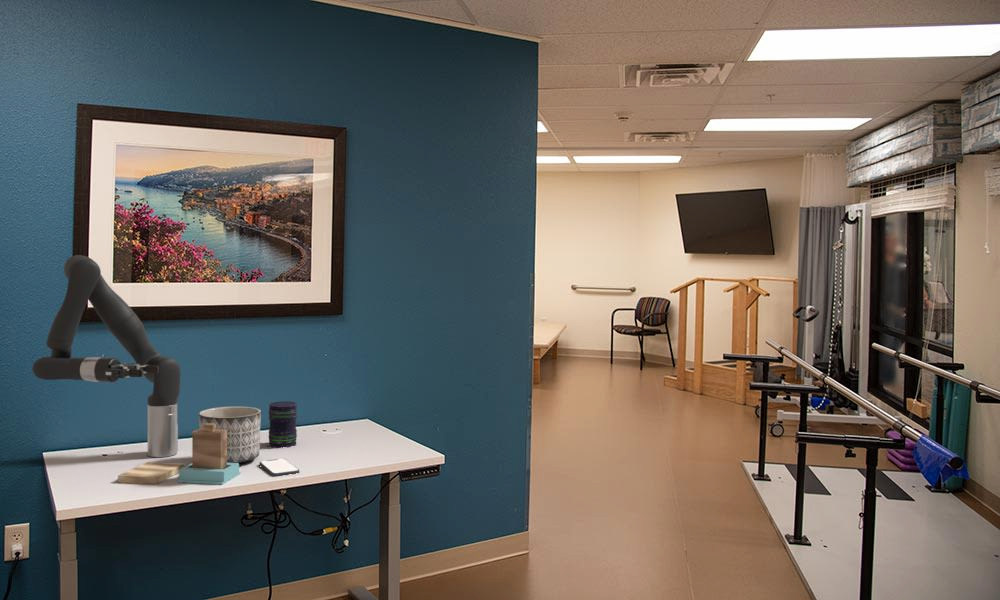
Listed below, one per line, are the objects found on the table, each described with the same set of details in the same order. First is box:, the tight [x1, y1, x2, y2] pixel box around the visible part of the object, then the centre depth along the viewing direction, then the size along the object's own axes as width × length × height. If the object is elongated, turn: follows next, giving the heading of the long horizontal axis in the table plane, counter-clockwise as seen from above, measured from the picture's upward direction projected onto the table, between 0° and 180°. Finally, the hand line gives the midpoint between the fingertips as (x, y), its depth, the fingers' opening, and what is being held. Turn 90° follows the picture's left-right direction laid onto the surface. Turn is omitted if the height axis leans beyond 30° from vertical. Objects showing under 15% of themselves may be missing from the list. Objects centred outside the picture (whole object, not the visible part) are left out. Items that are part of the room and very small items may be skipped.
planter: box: [198, 406, 262, 464], centre depth 254 cm, size 19×19×16 cm
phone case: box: [259, 458, 300, 477], centre depth 246 cm, size 9×2×16 cm
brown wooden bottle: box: [191, 423, 227, 469], centre depth 234 cm, size 4×9×16 cm, turn 84°
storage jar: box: [268, 401, 298, 449], centre depth 278 cm, size 10×10×15 cm
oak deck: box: [117, 461, 185, 485], centre depth 235 cm, size 16×12×2 cm
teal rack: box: [177, 462, 241, 486], centre depth 234 cm, size 12×14×4 cm
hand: (150, 371), depth 235 cm, fingers open, 8 cm apart
